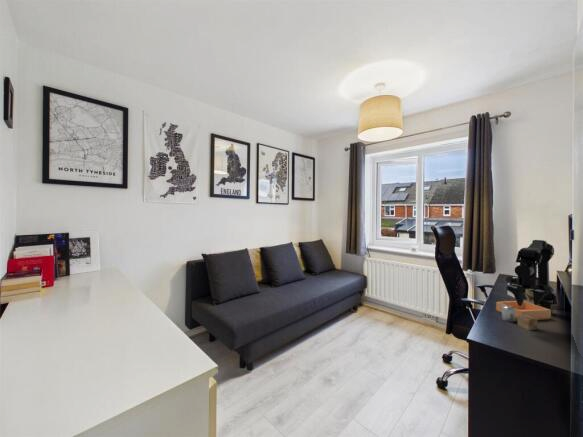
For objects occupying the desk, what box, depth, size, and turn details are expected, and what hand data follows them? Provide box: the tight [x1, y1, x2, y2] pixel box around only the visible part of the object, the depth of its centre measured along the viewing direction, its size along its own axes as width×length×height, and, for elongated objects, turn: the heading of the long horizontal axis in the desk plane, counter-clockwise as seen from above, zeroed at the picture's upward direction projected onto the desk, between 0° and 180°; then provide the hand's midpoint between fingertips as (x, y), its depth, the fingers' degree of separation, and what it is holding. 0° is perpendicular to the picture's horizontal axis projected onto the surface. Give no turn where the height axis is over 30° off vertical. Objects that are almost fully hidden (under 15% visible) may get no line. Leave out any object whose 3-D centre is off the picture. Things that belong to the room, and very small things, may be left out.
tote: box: [495, 300, 552, 321], centre depth 137 cm, size 18×14×5 cm
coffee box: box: [524, 280, 538, 304], centre depth 153 cm, size 9×6×16 cm
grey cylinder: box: [501, 305, 516, 323], centre depth 130 cm, size 5×5×7 cm
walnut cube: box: [517, 315, 538, 331], centre depth 121 cm, size 5×5×5 cm
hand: (527, 305), depth 121 cm, fingers open, 9 cm apart
